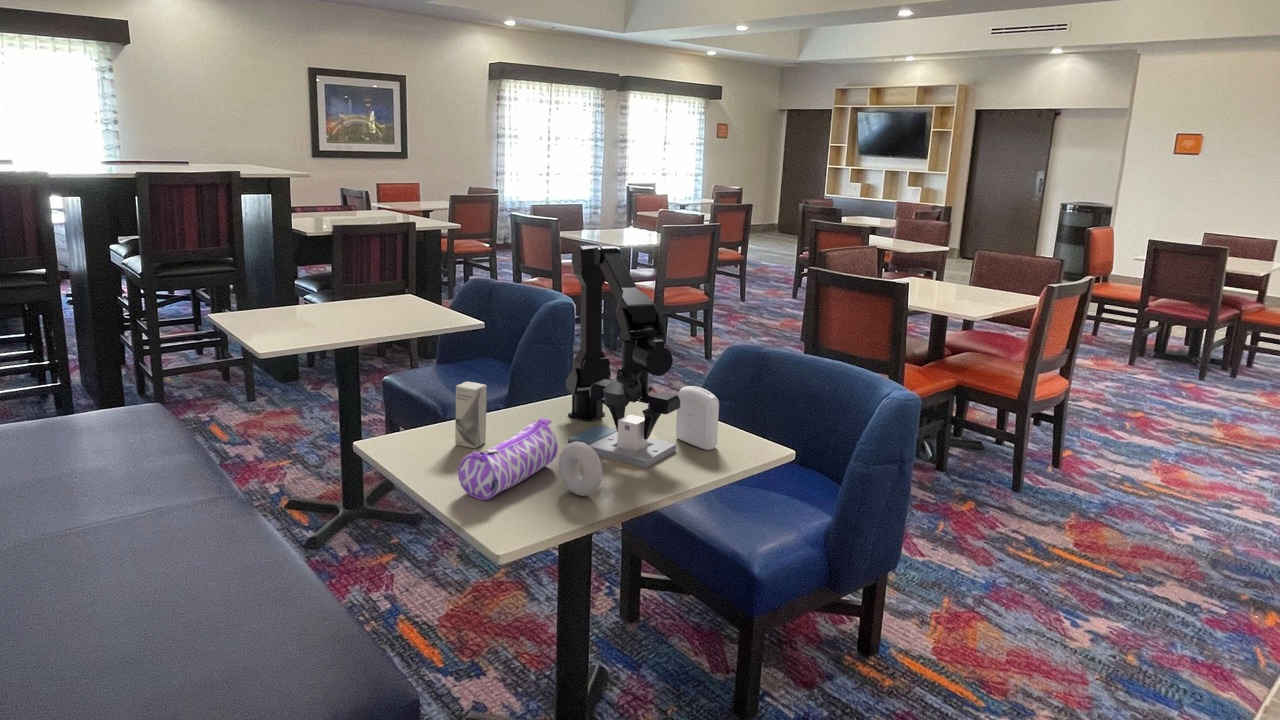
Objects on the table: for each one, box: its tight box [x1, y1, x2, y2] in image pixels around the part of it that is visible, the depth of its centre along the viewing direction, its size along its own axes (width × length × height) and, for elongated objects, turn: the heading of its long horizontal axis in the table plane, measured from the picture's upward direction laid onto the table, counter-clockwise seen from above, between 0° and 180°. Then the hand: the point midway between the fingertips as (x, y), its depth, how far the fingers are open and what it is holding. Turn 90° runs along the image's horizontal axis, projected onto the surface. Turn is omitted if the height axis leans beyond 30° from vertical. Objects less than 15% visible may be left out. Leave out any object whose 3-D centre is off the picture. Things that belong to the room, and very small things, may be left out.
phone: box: [567, 424, 617, 445], centre depth 179 cm, size 6×11×1 cm, turn 148°
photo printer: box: [675, 385, 720, 451], centre depth 177 cm, size 10×4×12 cm, turn 39°
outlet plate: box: [589, 432, 677, 469], centre depth 172 cm, size 14×12×2 cm
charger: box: [617, 414, 647, 453], centre depth 171 cm, size 4×4×7 cm
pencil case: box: [457, 418, 558, 501], centre depth 154 cm, size 22×9×10 cm, turn 154°
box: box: [454, 381, 488, 449], centre depth 171 cm, size 5×4×13 cm
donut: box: [558, 441, 603, 497], centre depth 149 cm, size 10×4×10 cm, turn 47°
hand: (632, 435), depth 171 cm, fingers open, 6 cm apart
